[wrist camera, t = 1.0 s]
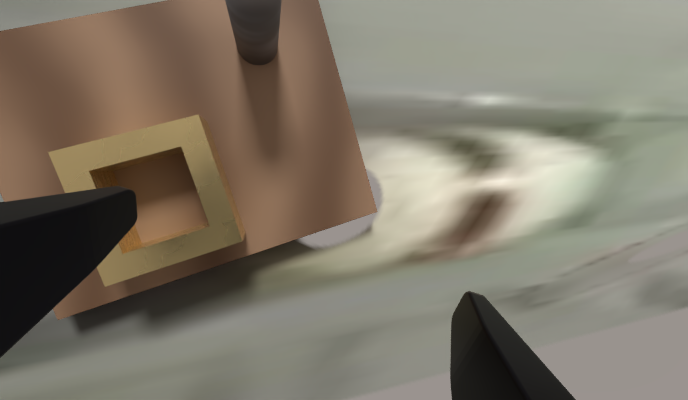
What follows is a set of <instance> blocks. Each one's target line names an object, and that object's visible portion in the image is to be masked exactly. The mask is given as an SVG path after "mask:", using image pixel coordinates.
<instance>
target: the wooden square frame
mask: <svg viewBox="0 0 688 400" xmlns="http://www.w3.org/2000/svg"><path fill="white" fill-rule="evenodd" d="M182 152H183V153H184V156H185V159H186V161H187V164H188V167H189V170H190V172H191V175H192V178H193V181H194V183H195V186H196V189H197V192H198V195H199V197H200V200H201V203H202V206H203V208H204V211H205V214H206V217H207V219H208V223H205V224H201V225H198V226H195V227H192V228H189V229H185V230H182V231H179V232H176V233H173V234H169V235H166V236H163V237H160V238H157V239H153V240H150V241H147V242H144V243H142V242H141V240H140V237H139V235H138V232H137V230H136V227H135V225H134V226H133V227H132V228H131V229H130V231H129V232H128V233H127V234H126V235H125V236H124V237H123V238H122V240H121V241H120V242H119V243H118V244H117V245H116V246H115V248H114V249H113V250H112V251H111V252H110V253H109V254H108V255H107V257H106V258H105V259H104V260H103V261H102V262H101V263H100V264H99V265H98V266H97V269H98V272H99V274H100V276H101V279H102V281H103V283H104V286H105V287H106V286H109V285H112V284H115V283H118V282H121V281H124V280H127V279H130V278H133V277H136V276H139V275H142V274H145V273H148V272H151V271H154V270H157V269H160V268H163V267H167V266H170V265H173V264H176V263H179V262H182V261H185V260H188V259H191V258H194V257H197V256H200V255H203V254H206V253H209V252H212V251H215V250H218V249H221V248H224V247H227V246H230V245H233V244H236V243H239V242H242V241H243V239H244V236H245V233H246V232H245V229H244V226H243V224H242V221H241V218H240V215H239V212H238V209H237V206H236V203H235V200H234V197H233V195H232V192H231V189H230V186H229V183H228V180H227V177H226V174H225V171H224V168H223V166H222V163H221V160H220V157H219V154H218V151H217V148H216V145H215V142H214V139H213V137H212V134H211V131H210V128H209V125H208V122H207V121H206V120H204V119H203V118H202V117H201V116H200V115H194V116H190V117H186V118H182V119H178V120H174V121H170V122H167V123H163V124H159V125H155V126H151V127H147V128H143V129H139V130H135V131H131V132H127V133H123V134H119V135H115V136H111V137H107V138H103V139H99V140H95V141H91V142H87V143H83V144H79V145H75V146H71V147H67V148H63V149H59V150H55V151H51V152H48V153H49V156H50V158H51V160H52V163H53V165H54V168H55V170H56V172H57V175H58V177H59V179H60V182H61V184H62V186H63V189H64V191H65V193H70V192H77V191H84V190H91V189H98V188H105V187H112V186H119V184H118V182H117V179H116V177H115V174H114V172H113V171H115V170H119V169H122V168H126V167H130V166H133V165H137V164H141V163H145V162H148V161H152V160H156V159H159V158H163V157H167V156H171V155H174V154H178V153H182Z"/></svg>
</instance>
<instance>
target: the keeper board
mask: <svg viewBox="0 0 688 400" xmlns="http://www.w3.org/2000/svg"><path fill="white" fill-rule="evenodd" d="M194 115H200V116H201V117H202V118H203V119H204V120H206V121H207V122H208V125H209V128H210V131H211V134H212V137H213V139H214V142H215V145H216V148H217V151H218V154H219V157H220V160H221V163H222V166H223V168H224V171H225V174H226V177H227V180H228V183H229V186H230V189H231V192H232V195H233V197H234V200H235V203H236V206H237V209H238V212H239V215H240V218H241V221H242V224H243V226H244V229H245V232H246V233H245V236H244V239H243V241H242V242H239V243H236V244H233V245H230V246H227V247H224V248H221V249H218V250H215V251H212V252H209V253H206V254H203V255H200V256H197V257H194V258H191V259H188V260H185V261H182V262H179V263H176V264H173V265H170V266H167V267H163V268H160V269H157V270H154V271H151V272H148V273H145V274H142V275H139V276H136V277H133V278H130V279H127V280H124V281H121V282H118V283H115V284H112V285H109V286H106V287H105V286H104V283H103V281H102V279H101V276H100V274H99V272H98V269H97V268H96V269H95V270H94V271H93V272H92V273H90V274H89V275H88V276H87V277H86V278H85V279H84V280H83V281H82V282H81V283H80V284H79V285H78V286H77V287H76V288H75V289H73V290H72V291H71V292H70V293H69V294H68V295H67V296H66V297H65V298H64V299H63V300H62V301H61V302H60V303H58V304H57V305H56V306H55V307H54V308H53V310H54V312H55V315H56V317H57V319H58V320H60V319H62V318H65V317H68V316H71V315H74V314H77V313H80V312H83V311H86V310H89V309H92V308H95V307H98V306H101V305H104V304H107V303H110V302H113V301H116V300H119V299H121V298H124V297H127V296H130V295H133V294H136V293H139V292H142V291H145V290H148V289H151V288H154V287H157V286H160V285H163V284H166V283H169V282H172V281H175V280H177V279H180V278H183V277H186V276H189V275H192V274H195V273H198V272H201V271H204V270H207V269H210V268H213V267H216V266H219V265H222V264H225V263H228V262H231V261H234V260H236V259H239V258H242V257H245V256H248V255H251V254H254V253H257V252H260V251H263V250H266V249H269V248H272V247H275V246H278V245H281V244H284V243H287V242H290V241H292V240H295V239H298V238H301V237H304V236H307V235H310V234H313V233H316V232H319V231H322V230H325V229H328V228H331V227H334V226H336V225H340V224H343V223H345V222H348V221H351V220H354V219H357V218H360V217H363V216H366V215H369V214H372V213H375V212H377V209H376V205H375V202H374V198H373V195H372V191H371V187H370V184H369V180H368V177H367V173H366V169H365V166H364V162H363V159H362V155H361V152H360V148H359V144H358V141H357V137H356V134H355V130H354V127H353V123H352V119H351V116H350V112H349V109H348V105H347V102H346V98H345V94H344V91H343V87H342V84H341V80H340V77H339V73H338V69H337V66H336V62H335V59H334V55H333V52H332V48H331V44H330V41H329V37H328V34H327V30H326V27H325V23H324V19H323V16H322V12H321V9H320V5H319V2H318V0H168V1H162V2H157V3H151V4H146V5H140V6H135V7H129V8H124V9H118V10H113V11H108V12H102V13H97V14H91V15H86V16H80V17H75V18H69V19H64V20H58V21H53V22H48V23H42V24H37V25H31V26H26V27H20V28H15V29H9V30H4V31H0V193H1V195H2V198H3V200H4V202H7V201H14V200H21V199H28V198H35V197H42V196H49V195H56V194H63V193H65V191H64V189H63V186H62V184H61V182H60V179H59V177H58V175H57V172H56V170H55V168H54V165H53V163H52V160H51V158H50V156H49V153H48V152H51V151H55V150H59V149H63V148H67V147H71V146H75V145H79V144H83V143H87V142H91V141H95V140H99V139H103V138H107V137H111V136H115V135H119V134H123V133H127V132H131V131H135V130H139V129H143V128H147V127H151V126H155V125H159V124H163V123H167V122H170V121H174V120H178V119H182V118H186V117H190V116H194ZM113 172H114V174H115V177H116V179H117V182H118V184H119V186H122V187H125V188H128V189H131V190H133V191H134V192H135V194H136V201H137V214H138V217H137V221H136V223H135V227H136V230H137V232H138V235H139V237H140V240H141V242H142V243H144V242H147V241H150V240H153V239H157V238H160V237H163V236H166V235H169V234H173V233H176V232H179V231H182V230H185V229H189V228H192V227H195V226H198V225H201V224H205V223H208V219H207V217H206V214H205V211H204V208H203V206H202V203H201V200H200V197H199V195H198V192H197V189H196V186H195V183H194V181H193V178H192V175H191V172H190V170H189V167H188V164H187V161H186V159H185V156H184V153H183V152H182V153H178V154H174V155H171V156H167V157H163V158H159V159H156V160H152V161H148V162H145V163H141V164H137V165H133V166H130V167H126V168H122V169H119V170H115V171H113Z"/></svg>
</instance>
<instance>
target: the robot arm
mask: <svg viewBox="0 0 688 400" xmlns="http://www.w3.org/2000/svg"><path fill="white" fill-rule="evenodd" d="M137 217H138V214H137V201H136V194H135V192H134V191H133V190H131V189H128V188H125V187H122V186H112V187H105V188H98V189H91V190H84V191H77V192H70V193H63V194H56V195H49V196H42V197H35V198H28V199H21V200H14V201H7V202H0V358H1V357H2V356H3V355H4V354H5V353H6V352H7V351H8V350H9V349H10V348H11V347H12V346H13V345H15V344H16V343H17V342H18V341H19V340H20V339H21V338H22V337H23V336H24V335H25V334H26V333H27V332H28V331H30V330H31V329H32V328H33V327H34V326H35V325H36V324H37V323H38V322H39V321H40V320H41V319H42V318H43V317H45V316H46V315H47V314H48V313H49V312H50V311H51V310H52V309H53V308H54V307H55V306H56V305H57V304H58V303H60V302H61V301H62V300H63V299H64V298H65V297H66V296H67V295H68V294H69V293H70V292H71V291H72V290H73V289H75V288H76V287H77V286H78V285H79V284H80V283H81V282H82V281H83V280H84V279H85V278H86V277H87V276H88V275H89V274H90V273H92V272H93V271H94V270H95V269H96V268H97V266H98V265H99V264H100V263H101V262H102V261H103V260H104V259H105V258H106V257H107V255H108V254H109V253H110V252H111V251H112V250H113V249H114V248H115V246H116V245H117V244H118V243H119V242H120V241H121V240H122V238H123V237H124V236H125V235H126V234H127V233H128V232H129V231H130V229H131V228H132V227H133V226H134V225H135V223H136V221H137ZM450 379H451V392H452V400H576V399H575V398H574V397H573V396H572V395H571V394H570V393H569V392H568V391H567V389H566V388H565V387H564V386H563V385H562V384H561V382H559V380H558V379H557V378H556V377H555V376H554V375H553V374H552V372H551V371H550V370H549V369H548V368H547V367H546V366H545V364H544V363H543V362H542V361H541V360H540V359H539V358H538V356H537V355H536V354H535V353H534V352H533V351H532V350H531V349H530V347H529V346H528V345H527V344H526V343H525V342H524V341H523V340H522V338H521V337H520V336H519V335H518V334H517V333H516V332H515V330H514V329H513V328H512V327H511V326H510V325H509V324H508V323H507V321H506V320H505V319H504V318H503V317H502V316H501V315H500V314H499V312H498V311H497V310H496V309H495V308H494V307H493V306H492V304H491V303H490V302H489V301H488V300H487V299H486V298H485V297H484V296H483V295H480V294H477V293H474V292H470V291H468V292H466V293H465V294H464V295H463V297H462V299H461V300H460V302H459V304H458V306H457V308H456V310H455V311H454V313H453V316H452V322H451V367H450Z"/></svg>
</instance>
